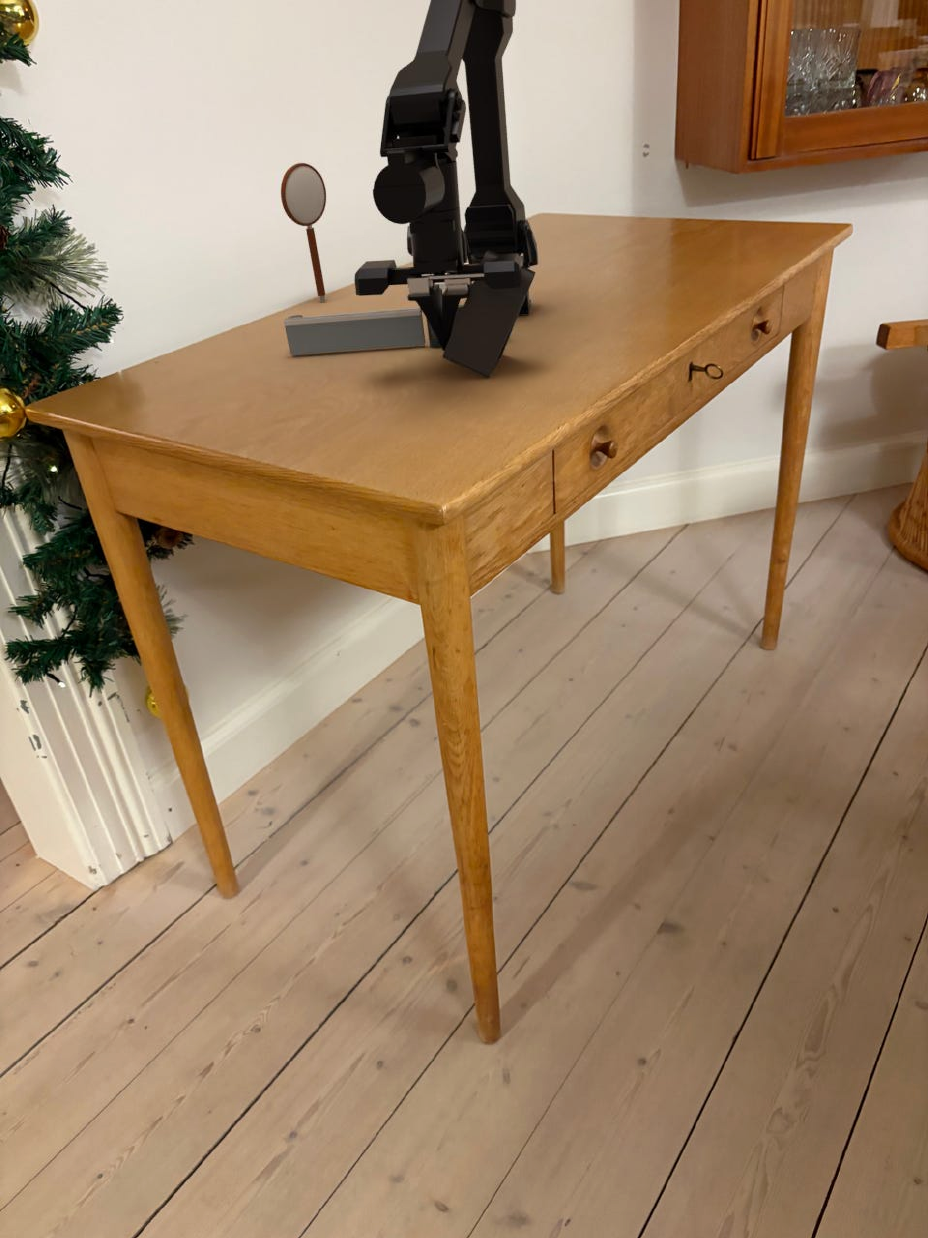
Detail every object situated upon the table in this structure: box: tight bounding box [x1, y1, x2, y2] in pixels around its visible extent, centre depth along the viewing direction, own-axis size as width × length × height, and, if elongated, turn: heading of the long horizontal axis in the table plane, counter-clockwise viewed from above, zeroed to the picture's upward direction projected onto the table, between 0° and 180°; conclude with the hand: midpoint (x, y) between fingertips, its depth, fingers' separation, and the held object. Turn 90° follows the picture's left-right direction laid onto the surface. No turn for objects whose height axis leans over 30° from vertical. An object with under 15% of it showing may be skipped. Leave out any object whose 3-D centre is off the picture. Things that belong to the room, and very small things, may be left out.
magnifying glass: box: [280, 162, 327, 302], centre depth 149 cm, size 9×2×20 cm, turn 142°
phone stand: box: [441, 250, 536, 380], centre depth 114 cm, size 9×6×12 cm, turn 167°
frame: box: [287, 288, 464, 349], centre depth 127 cm, size 29×2×7 cm, turn 79°
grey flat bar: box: [283, 307, 426, 356], centre depth 128 cm, size 18×1×4 cm, turn 84°
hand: (445, 350), depth 116 cm, fingers closed, pressing on phone stand
